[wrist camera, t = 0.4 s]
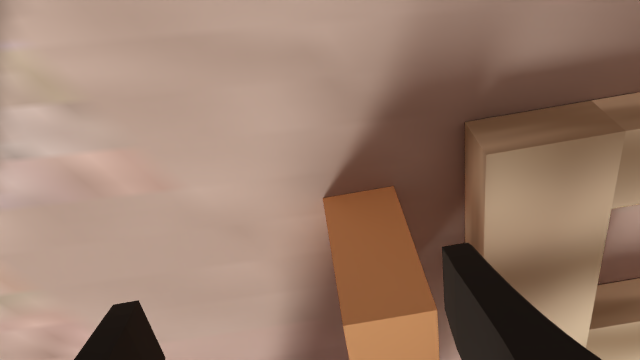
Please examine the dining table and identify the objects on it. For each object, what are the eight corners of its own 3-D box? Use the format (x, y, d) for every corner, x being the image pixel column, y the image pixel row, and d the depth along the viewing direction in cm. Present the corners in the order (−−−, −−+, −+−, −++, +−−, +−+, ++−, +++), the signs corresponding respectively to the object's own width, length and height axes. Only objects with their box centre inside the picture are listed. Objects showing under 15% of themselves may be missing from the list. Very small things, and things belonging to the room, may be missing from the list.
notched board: (670, 318, 30) (701, 357, 28) (465, 353, 30) (480, 393, 28) (743, 74, 22) (794, 102, 20) (464, 122, 22) (486, 154, 20)
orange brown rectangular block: (401, 272, 26) (441, 404, 20) (337, 283, 26) (359, 418, 20) (393, 185, 23) (437, 310, 18) (322, 197, 23) (342, 326, 18)
